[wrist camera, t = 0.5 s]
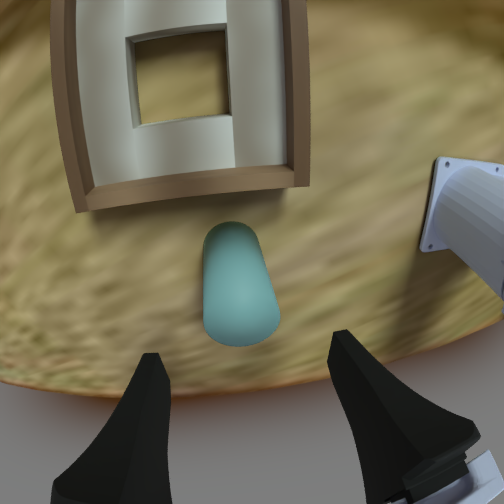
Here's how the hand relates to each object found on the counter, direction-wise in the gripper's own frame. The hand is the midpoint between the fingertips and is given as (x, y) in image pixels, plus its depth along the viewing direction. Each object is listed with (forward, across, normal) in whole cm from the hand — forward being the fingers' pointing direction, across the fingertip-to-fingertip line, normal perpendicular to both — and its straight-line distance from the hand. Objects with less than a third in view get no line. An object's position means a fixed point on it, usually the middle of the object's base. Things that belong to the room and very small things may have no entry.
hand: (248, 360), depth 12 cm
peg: (+9, 0, 0) cm, 9 cm away
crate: (+9, +2, -12) cm, 15 cm away
